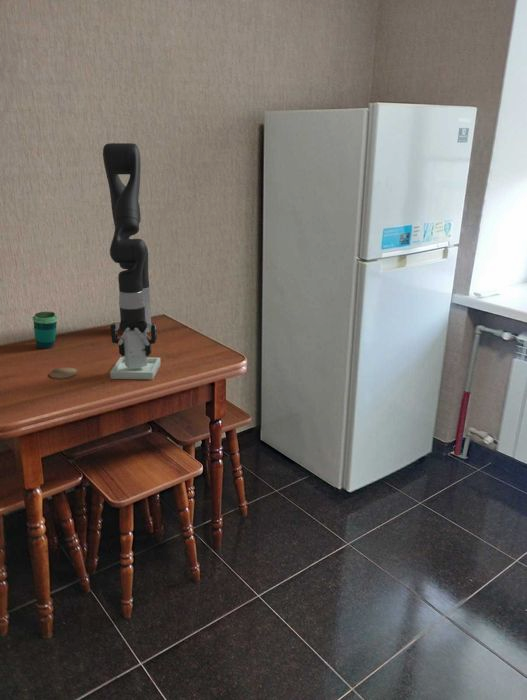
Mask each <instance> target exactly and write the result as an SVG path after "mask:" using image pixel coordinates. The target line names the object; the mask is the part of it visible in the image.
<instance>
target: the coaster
mask: <svg viewBox="0 0 527 700" xmlns="http://www.w3.org/2000/svg"><path fill="white" fill-rule="evenodd" d="M77 374H78V370H77V369H76V368H74V367H58V368H55V369H53V370H52V371H50V372H49V376H50V378H53V379H55V380H63V379H69V378H73V377H75V376H76V375H77Z"/></svg>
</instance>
